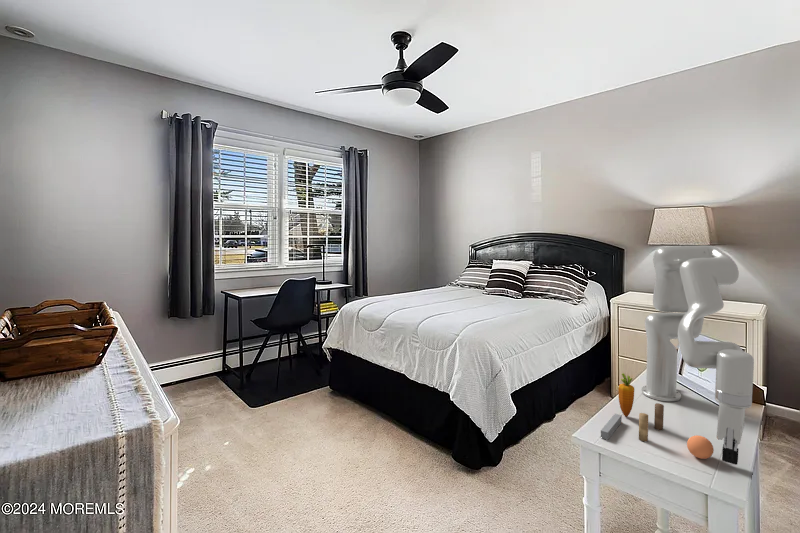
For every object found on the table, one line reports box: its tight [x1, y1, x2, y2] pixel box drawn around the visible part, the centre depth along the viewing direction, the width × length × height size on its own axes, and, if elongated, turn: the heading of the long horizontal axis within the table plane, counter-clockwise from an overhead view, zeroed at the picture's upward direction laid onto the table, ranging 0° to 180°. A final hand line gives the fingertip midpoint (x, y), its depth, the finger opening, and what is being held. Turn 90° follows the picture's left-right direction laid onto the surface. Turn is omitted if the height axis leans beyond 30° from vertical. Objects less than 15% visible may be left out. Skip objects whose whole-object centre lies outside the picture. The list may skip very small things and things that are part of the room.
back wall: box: [600, 413, 623, 441], centre depth 129 cm, size 14×2×2 cm, turn 135°
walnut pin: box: [653, 402, 665, 432], centre depth 128 cm, size 2×2×8 cm
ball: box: [686, 434, 715, 460], centre depth 112 cm, size 6×6×6 cm
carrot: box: [617, 372, 635, 418], centre depth 136 cm, size 5×5×15 cm
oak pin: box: [638, 412, 649, 443], centre depth 122 cm, size 2×2×8 cm
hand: (729, 461), depth 108 cm, fingers closed
